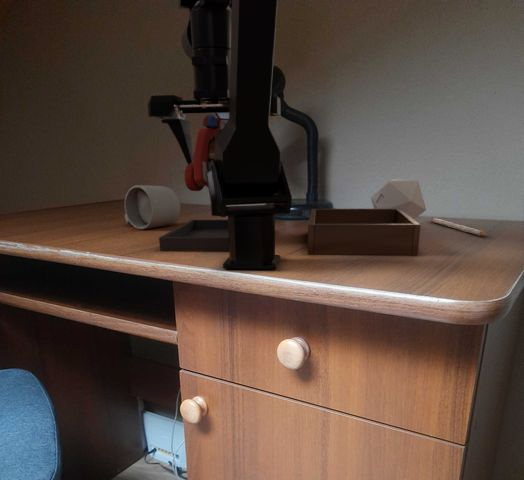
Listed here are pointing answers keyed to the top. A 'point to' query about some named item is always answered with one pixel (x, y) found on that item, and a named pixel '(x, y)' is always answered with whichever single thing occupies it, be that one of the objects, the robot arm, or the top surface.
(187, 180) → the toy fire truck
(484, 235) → the pencil
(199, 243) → the desk tray
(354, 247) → the toy crate
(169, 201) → the ceramic mug
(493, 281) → the top surface
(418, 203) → the die
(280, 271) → the top surface
